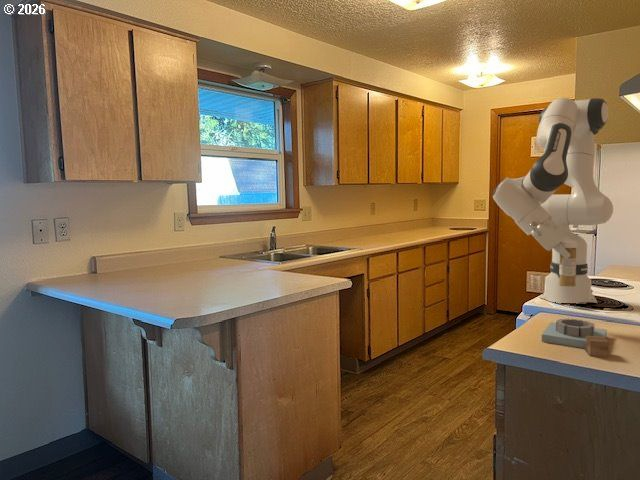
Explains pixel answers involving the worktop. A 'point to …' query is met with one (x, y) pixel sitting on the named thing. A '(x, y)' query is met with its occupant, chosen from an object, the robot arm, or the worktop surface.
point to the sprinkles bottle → (568, 265)
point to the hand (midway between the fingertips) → (570, 255)
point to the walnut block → (596, 346)
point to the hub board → (571, 332)
